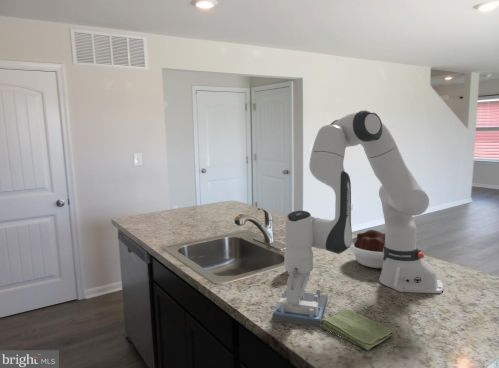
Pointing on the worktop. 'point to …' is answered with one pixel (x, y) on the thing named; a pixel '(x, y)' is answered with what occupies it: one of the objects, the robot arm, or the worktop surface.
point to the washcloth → (357, 328)
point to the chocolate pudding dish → (368, 248)
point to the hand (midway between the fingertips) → (298, 304)
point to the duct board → (303, 318)
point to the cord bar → (303, 306)
